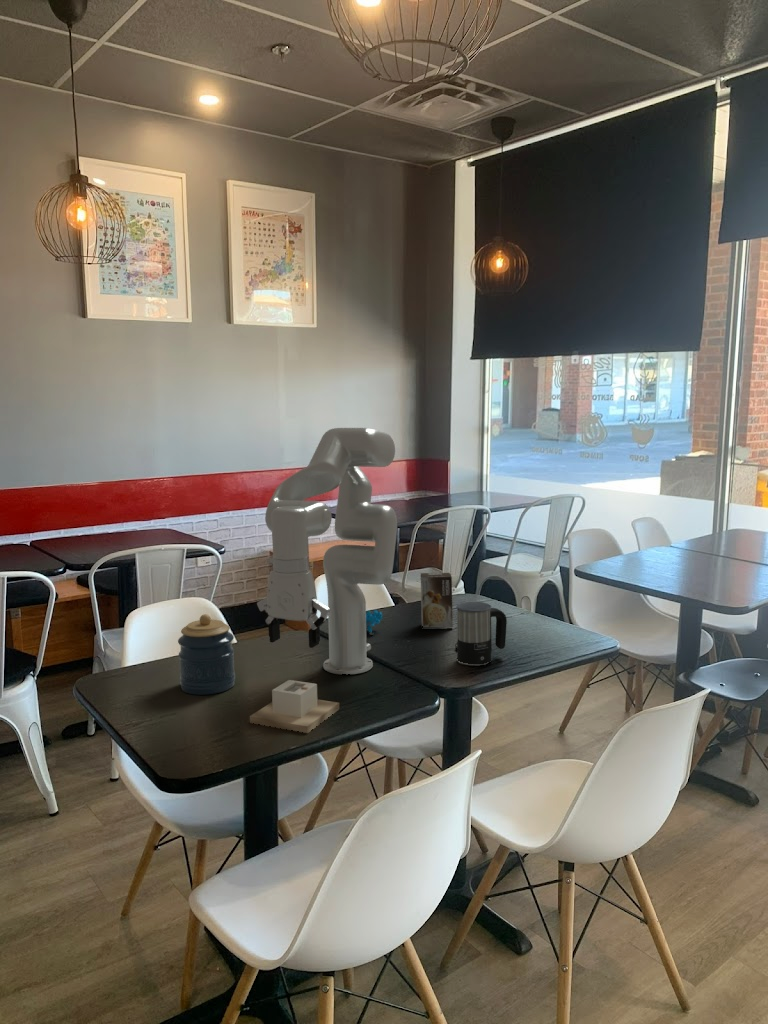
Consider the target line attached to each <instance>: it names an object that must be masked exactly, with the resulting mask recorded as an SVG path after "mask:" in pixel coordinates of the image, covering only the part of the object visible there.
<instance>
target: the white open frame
mask: <svg viewBox="0 0 768 1024" xmlns="http://www.w3.org/2000/svg"><path fill="white" fill-rule="evenodd" d="M295 686H301V688H300V689H298V690H296V691H295V692H291V691H289V690H291V689H292V688H294V687H295ZM271 697H272V698H271V699H272V701H271V702H272V705H273V713H277V714H283V715H289V716H294V717H300V718H301V717H303V716H304V715H306V714H307V713H308V712H310V711H311V710H313V709H314V708H315V707H317V699H318V684H317V683H314V682H313V683H312V682H308V681H307V682H305V681H300V680H295V679H294V680H293V679H288V680H286V681H285V682H283V683H281V684H280V685H278V686H277V687H275V688H273V689H272V690H271Z"/></svg>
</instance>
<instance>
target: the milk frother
mask: <svg viewBox="0 0 768 1024" xmlns="http://www.w3.org/2000/svg"><path fill="white" fill-rule="evenodd" d="M455 608H456V611H457V612H456V615H457V616H456V619H457V623H456V624H457V627H456V628H457V642H456V643H455V649H456V648H457V649H458V650H457V649H456V650H457V651H456V653H457V656H456V659H458V661H460V662H463V663H468V664H484V663H487V662H490V661H491V659H492V651H493V649H492V647H493V646H492V618H494V617H495V622H496V623H495V640H494V641H495V647H496V648H498V649H500V650H502V649H504V648H505V647H506V639H507V638H506V636H507V624H508V622H507V616H506V614H505V613H504V611H502V610H501V609H499V608H495V607H492V605H491V604H489V603H486V602H481V601H478V602H477V601H470V602H469V601H467V602H461V603H458V604H457V605H456V606H455Z"/></svg>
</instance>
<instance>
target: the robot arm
mask: <svg viewBox="0 0 768 1024" xmlns="http://www.w3.org/2000/svg"><path fill="white" fill-rule="evenodd" d="M395 445H396V444H395V441H394V440H393V438H392V436H391V435H390V434H388V433H386V432H383V431H380V430H377V429H374V428H369V427H335V428H330V429H328V430H327V431H325V432H324V434H322V436H321V439H320V440H319V443H318V445H317V447H316V449H315V451H314V453H313V455H312V456H311V457H312V458H311V459H310V461H309V464H308V465H307V466H305V467H304V468H302V469H300V470H298V471H296V472H294V473H293V474H292V475H290V476H289V477H287V478H285V480H282V482H281V483H280V484H279V485H278V486H277V487H276V488H275V490H274V492H273V495H272V496H271V498H270V500H269V502H268V505H267V507H266V511H265V517H264V518H265V525H266V527H267V529H268V530H269V531H270V532H271V535H272V536H271V538H272V541H271V542H272V557H269V558H268V564H269V565H272V569H273V570H270V572H269V576H268V583H267V592H266V593H267V594H266V597H265V598H263V599H261V600H259V601H257V602H256V605H257V608H258V610H259V611H260V615H261V617H262V618H264V620H265V624H266V625H268V637H269V643H274V642H276V641H278V640H280V639H281V627H280V625H281V624H280V621H279V620H287V621H295V622H306V623H307V625H308V626H309V627H310V628H309V629H308V647H309V648H310V649H313V648H314V647H316V646H318V645H319V644H320V641H321V632H320V631H321V629H320V628H321V627H322V625H323V624H324V623H325V622H326V621H327V619H328V656H329V658H328V659H325V660H324V662H323V664H322V665H323V669H324V670H325V671H327V673H329V674H330V673H331V674H333V675H334V674H335V675H342V674H346V675H345V676H347V675H348V674H350V675H357V674H363V673H365V672H369V671H370V670H371V669H372V668H373V666H374V665H373V664H374V663H373V660H372V659H371V658H369V657H367V654H368V653H367V652H368V651H370V650H371V649H372V645H371V644H370V643H368V642H367V629H366V615H367V614H366V612H367V609H366V608H367V607H366V606H367V605H366V604H367V602H366V601H367V600H366V597H365V595H364V592H363V591H362V589H361V587H360V586H359V585H361V584H362V585H385V584H387V583H388V582H389V581H390V580H391V578H392V574H393V569H394V562H395V561H394V560H395V551H396V542H397V534H398V518H397V514H396V511H395V510H394V508H393V507H391V506H390V505H388V504H382V503H380V504H377V503H376V504H375V503H372V501H371V500H372V492H373V486H372V483H371V481H370V479H369V478H368V477H367V475H366V473H365V472H364V471H363V470H362V468H386V467H389V465H391V464H392V463H393V461H394V460H395V455H396V447H395ZM337 488H338V494H337V501H336V502H337V503H336V510H335V517H334V519H335V520H334V533H335V535H336V537H338V539H340V540H344V541H350V542H351V541H352V542H369V543H371V542H373V543H374V545H360V544H359V545H358V544H337V545H333V546H331V547H329V548H327V549H326V551H325V552H324V555H323V560H322V564H323V565H322V566H323V572H324V576H325V580H326V581H325V583H326V589H327V606H326V604H324V603H322V602H320V601H319V600H318V598H317V589H316V583H315V579H314V574H313V571H312V570H310V555H309V553H310V549H309V537H315V536H320V535H323V534H325V533H326V532H327V531H328V529H329V528H330V526H331V525H332V519H333V517H332V516H333V515H332V511H331V509H330V507H329V506H328V505H327V504H326V503H324V502H323V501H317V500H306V499H310V498H314V497H317V496H322V495H324V494H327V493H329V492H331V491H334V490H335V489H337ZM318 612H319V613H320V615H319V616H318V615H317V613H318ZM278 619H279V620H278ZM348 676H349V675H348Z"/></svg>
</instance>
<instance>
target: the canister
mask: <svg viewBox="0 0 768 1024" xmlns="http://www.w3.org/2000/svg"><path fill="white" fill-rule="evenodd" d="M230 628H231V627H230V626H229V625H228V624H227V623H225V622H224V621H222V620H219V619H218V620H217V619H211V616H210V615H209V614H204V613H203V614H202V615H201V616H200V617H199V620H195V621H191V622H189V623H188V624H186V626H184V627H182V628H181V629H180V633H181V634H182V635H181V636H180V637H179V638H178V639H177V642H178V643H177V644H179V646H180V651H179V652H178V657H179V672H180V673H179V676H180V677H179V685H180V687H181V690H182V691H183V692H184V693H186V694H191V695H200V696H201V695H202V696H203V695H207V696H208V695H214V694H219V693H223V692H226V691H228V690H230V689H231V688H232V687H234V685H235V680H236V673H235V660H234V659H235V657H234V655H235V649H234V647H233V644H232V641H233V640H234V638H235V636H234V634H232V633H231V632H229V631H230Z"/></svg>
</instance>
